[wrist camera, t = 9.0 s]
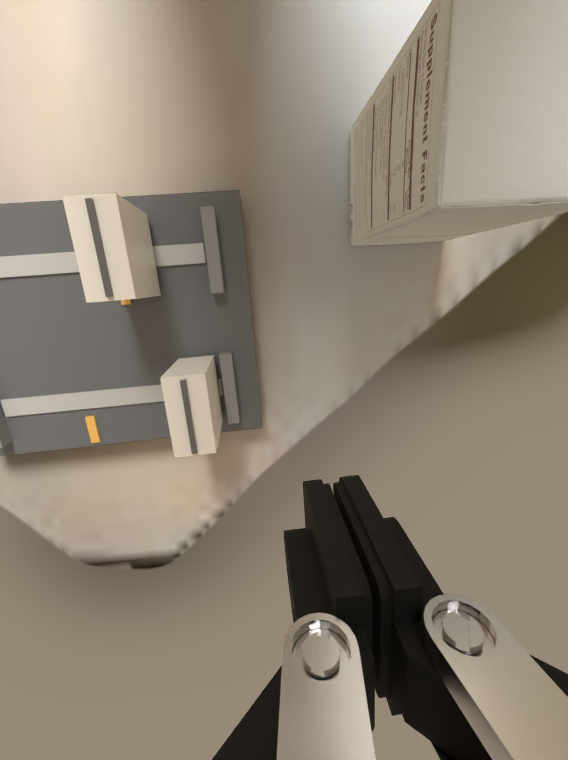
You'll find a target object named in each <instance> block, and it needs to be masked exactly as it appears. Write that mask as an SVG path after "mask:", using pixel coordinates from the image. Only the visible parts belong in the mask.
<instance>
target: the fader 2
mask: <svg viewBox="0 0 568 760" xmlns="http://www.w3.org/2000/svg"><path fill="white" fill-rule="evenodd" d="M160 381H161V386H162V392H163V397H164V403H165V408H166V414H167V419H168V425H169V430H170V436H171V441H172V446H173V452H174V457H175V458H177V457H186V456H195V455H203V454H212V453H216V452H217V447H218V442H219V437H220V432H221V427H222V422H223V417H222V409H221V402H220V394H219V387H218V379H217V372H216V364H215V357H214V355H212V356H201V357H190V358H179V359H178V360H177V361H176V362H175V363H174V364H173V365H172V366H171V367H170V368H169V369H168V370H167V371H166V372H165V373H164V374H163V375H162V376H161V378H160Z"/></svg>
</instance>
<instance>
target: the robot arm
mask: <svg viewBox="0 0 568 760" xmlns="http://www.w3.org/2000/svg"><path fill="white" fill-rule="evenodd" d="M333 489H334V494H333V492H332V490H331V487H330V485H329V484H323V482H322V480H311V481H304V482H303V494H304V509H305V525H306V528H302V529H294V530H286V531H284V542H285V554H286V564H287V574H288V581H289V582H288V583H289V591H290V598H291V606H292V614H293V622H294V624H293V625H292V626H291V627H290V629H289V630H288V632H287V634H286V636H285V640H284V645H283V657H282V666H281V667H280V669H279V670H278V671H277V673H276V674H275V675H274V677H273V678H272V679H271V681H270V682H269V683H268V685H267V686H266V688H265V689H264V690H263V691H262V693H261V694H260V696H259V697H258V698H257V700H256V701H255V702H254V704H253V705H252V706H251V708H250V709H249V711H248V712H247V713H246V714H245V716H244V717H243V719H242V720H241V721H240V723H239V724H238V725H237V727H236V728H235V729H234V731H233V732H232V734H231V735H230V736H229V737H228V739H227V740H226V742H225V743H224V744H223V745H222V747H221V748H220V750H219V751H218V752H217V754H216V755H215V756H214V758H213V759H212V760H376V758H375V751H374V745H373V738H372V731H373V729H374V726H375V725H374V723H375V722H374V719H375V718H374V717H375V715H374V713H375V707H374V706H375V705H374V704H375V701H374V699H375V690H376V693H377V695H378V697H379V698H383V697H386V699H387V701H388V704H389V708H390V711H391V714H392V716H393V715H398V714H402V715H403V718H404V720H405V722H406V723H407V724H409V725H410V726H411V727H413V728H414V729H415V730H417V731H418V732H419V737H420V740H421V743H422V745H423V748H424V750H425V752H426V754H427V756H428V758H429V760H568V674H566V673H564V672H563V671H561V670H559V669H557V668H555V667H553V666H551V665H549V664H547V663H545V662H543V661H541V660H539V659H537V658H535V657H533V656H531V655H529V654H528V653H527V652H526V651H525V650H524V649H523V648H522V646H521V645H520V644H519V643H518V642H517V641H516V640H515V639H514V638H513V637H512V635H511V634H510V633H509V632H508V631H507V630H506V629H505V628H504V627H503V626H502V624H501V623H500V622H499V621H498V620H497V619H496V618H495V617H494V616H493V615H492V614H491V613H490V612H489V611H488V610H486V609H485V608H484V607H483V606H481V605H480V604H478V603H476V602H475V601H473V600H471V599H468V598H466V597H463V596H460V595H453V594H445V595H444V594H443V592H442V591H441V589H440V588H439V586H438V584H437V583H436V582H435V580H434V578H433V577H432V575H431V573H430V572H429V570H428V569H427V567H426V565H425V564H424V562H423V561H422V559H421V557H420V556H419V554H418V553H417V551H416V549H415V548H414V546H413V545H412V543H411V541H410V540H409V538H408V537H407V535H406V533H405V532H404V530H403V529H402V527H401V525H400V524H399V522H398V521H397V520H396V519H395V518H394V517H390V518H383V517H382V515H381V513H380V512H379V510H378V508H377V506H376V505H375V503H374V501H373V499H372V498H371V496H370V494H369V492H368V491H367V489H366V487H365V485H364V484H363V482H362V480H361V478H360V477H359V475H355V476H346V477H340V479H339V482H337V483H334V485H333Z"/></svg>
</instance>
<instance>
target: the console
mask: <svg viewBox="0 0 568 760" xmlns="http://www.w3.org/2000/svg"><path fill="white" fill-rule="evenodd" d="M122 198H124V199H125V200H127V201H128V202H130V203H131V204H133V205H134V206H136V207H137V208H139V209H140V210H142V211H143V212H145V213H146V214H147V217H148V223H149V229H150V235H151V240H152V246H153V252H154V258H155V264H156V270H157V276H158V282H159V287H160V293H161V296H154V297H146V298H139V299H128V300H115V301H103V302H90V303H86V298H85V294H84V290H83V285H82V281H81V277H80V272H79V268H78V264H77V259H76V255H75V251H74V246H73V242H72V238H71V233H70V229H69V225H68V220H67V216H66V212H65V207H64V203H63V200H59V201H42V202H25V203H7V204H0V456H4V455H13V454H22V453H31V452H41V451H50V450H59V449H69V448H78V447H87V446H97V445H106V444H115V443H125V442H134V441H143V440H153V439H162V438H171V436H170V430H169V425H168V419H167V414H166V408H165V403H164V397H163V392H162V386H161V381H160V378H161V376H162V375H163V374H164V373H165V372H166V371H167V370H168V369H169V368H170V367H171V366H172V365H173V364H174V363H175V362H176V361H177V360H178V359H179V358H190V357H201V356H212V355H214V357H215V364H216V372H217V379H218V387H219V394H220V402H221V409H222V417H223V422H222V427H221V432H227V431H236V430H246V429H255V428H263V425H262V414H261V404H260V394H259V384H258V373H257V363H256V353H255V343H254V333H253V323H252V313H251V303H250V293H249V283H248V273H247V262H246V252H245V242H244V232H243V222H242V212H241V202H240V193H239V190H234V191H216V192H199V193H181V194H164V195H147V196H129V197H122Z"/></svg>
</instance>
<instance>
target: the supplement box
mask: <svg viewBox="0 0 568 760" xmlns="http://www.w3.org/2000/svg"><path fill="white" fill-rule="evenodd" d="M565 212H568V0H432V1H431V3H430V4H429V6H428V8H427V9H426V11H425V12H424V14H423V16H422V17H421V19H420V20H419V22H418V24H417V25H416V27H415V28H414V30H413V31H412V33H411V35H410V36H409V38H408V39H407V41H406V42H405V44H404V46H403V47H402V49H401V50H400V52H399V54H398V55H397V57H396V58H395V60H394V62H393V63H392V65H391V66H390V68H389V70H388V71H387V73H386V74H385V76H384V77H383V79H382V81H381V82H380V84H379V85H378V87H377V88H376V90H375V92H374V93H373V95H372V96H371V98H370V99H369V101H368V103H367V104H366V106H365V107H364V109H363V110H362V112H361V114H360V115H359V117H358V118H357V120H356V122H355V123H354V125H353V126H352V128H351V130H350V244H351V246H367V245H390V244H409V243H424V242H438V241H445V240H449V239H453V238H458V237H462V236H466V235H471V234H475V233H479V232H484V231H488V230H492V229H496V228H501V227H505V226H509V225H514V224H518V223H522V222H527V221H531V220H535V219H539V218H544V217H548V216H552V215H557V214H561V213H565Z"/></svg>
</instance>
